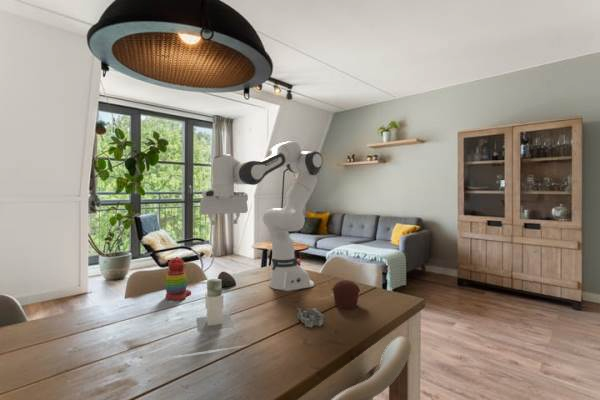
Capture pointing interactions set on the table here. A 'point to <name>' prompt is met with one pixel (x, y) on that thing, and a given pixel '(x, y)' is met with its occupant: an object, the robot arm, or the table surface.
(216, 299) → the tower top
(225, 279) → the stone
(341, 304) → the muffin
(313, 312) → the grey jagged lump
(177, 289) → the stacking bear
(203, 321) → the coaster
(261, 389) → the table surface
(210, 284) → the drum
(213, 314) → the tower bottom
